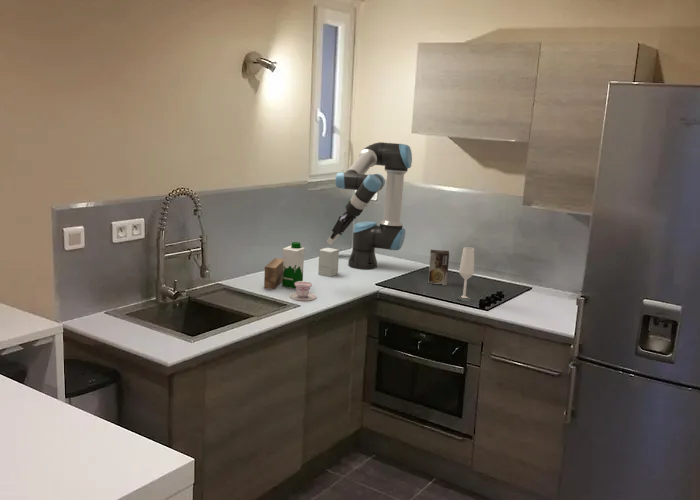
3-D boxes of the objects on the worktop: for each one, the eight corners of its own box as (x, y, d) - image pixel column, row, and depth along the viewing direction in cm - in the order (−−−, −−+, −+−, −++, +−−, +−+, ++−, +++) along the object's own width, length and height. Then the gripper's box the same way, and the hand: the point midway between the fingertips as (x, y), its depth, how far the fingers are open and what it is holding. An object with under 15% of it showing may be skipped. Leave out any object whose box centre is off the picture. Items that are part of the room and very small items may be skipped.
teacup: (289, 292, 314) (289, 279, 313) (315, 293, 316) (316, 280, 314) (289, 301, 303) (290, 287, 301) (317, 301, 304) (317, 288, 303)
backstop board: (284, 279, 334) (285, 259, 332) (274, 289, 318) (275, 267, 316) (274, 278, 335) (274, 258, 333) (264, 288, 319) (264, 266, 316)
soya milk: (305, 285, 327) (307, 243, 322) (295, 289, 319) (297, 247, 314) (288, 282, 330) (290, 240, 326) (279, 286, 322) (280, 244, 318)
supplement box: (338, 274, 349) (339, 249, 346) (329, 277, 343) (331, 252, 340) (326, 271, 353) (327, 247, 350) (317, 274, 347) (318, 249, 344)
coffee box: (446, 282, 346) (449, 250, 342) (446, 285, 340) (449, 253, 336) (427, 280, 347) (430, 249, 343) (427, 284, 340) (430, 252, 337)
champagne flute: (453, 297, 321) (458, 246, 316) (466, 297, 323) (472, 246, 318) (460, 302, 315) (465, 250, 309) (473, 301, 317) (479, 249, 311)
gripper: (355, 211, 309) (327, 250, 319) (369, 209, 320) (341, 246, 330) (343, 200, 311) (316, 239, 321) (357, 198, 322) (330, 235, 332)
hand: (329, 243), depth 325 cm, fingers closed
